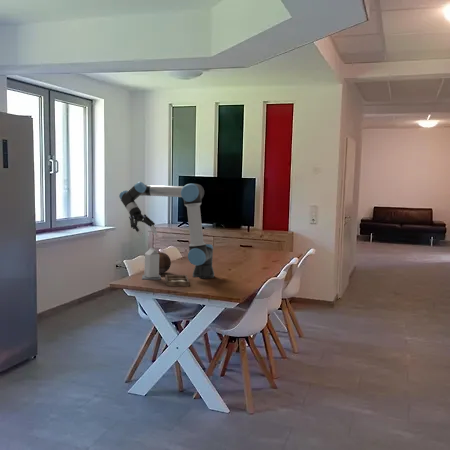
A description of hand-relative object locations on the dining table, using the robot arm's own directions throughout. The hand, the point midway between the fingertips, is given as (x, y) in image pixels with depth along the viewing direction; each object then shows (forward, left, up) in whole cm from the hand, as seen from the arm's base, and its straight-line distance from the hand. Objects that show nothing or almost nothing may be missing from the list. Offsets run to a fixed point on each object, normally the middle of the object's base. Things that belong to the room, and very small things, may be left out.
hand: (148, 234), depth 316 cm
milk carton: (-2, +4, -28) cm, 28 cm away
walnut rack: (-18, +19, -30) cm, 40 cm away
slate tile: (-2, +4, -30) cm, 30 cm away
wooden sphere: (-8, -19, -30) cm, 36 cm away
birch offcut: (-19, +25, -28) cm, 42 cm away
